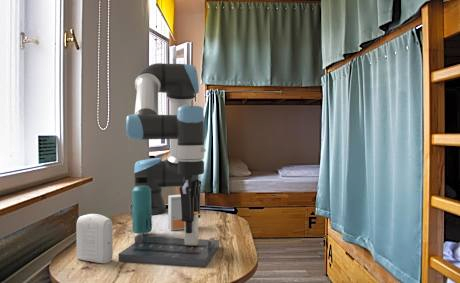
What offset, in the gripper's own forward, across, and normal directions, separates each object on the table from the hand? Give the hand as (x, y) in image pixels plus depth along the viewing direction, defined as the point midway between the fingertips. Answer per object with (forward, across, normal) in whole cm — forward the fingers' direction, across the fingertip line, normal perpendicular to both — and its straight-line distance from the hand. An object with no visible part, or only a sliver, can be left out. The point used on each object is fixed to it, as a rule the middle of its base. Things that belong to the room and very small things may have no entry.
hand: (191, 242), depth 97 cm
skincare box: (+3, +23, +12) cm, 26 cm away
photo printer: (+3, -10, +24) cm, 26 cm away
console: (+3, -2, +5) cm, 6 cm away
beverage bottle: (+3, +13, +21) cm, 25 cm away
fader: (+1, 0, 0) cm, 1 cm away
